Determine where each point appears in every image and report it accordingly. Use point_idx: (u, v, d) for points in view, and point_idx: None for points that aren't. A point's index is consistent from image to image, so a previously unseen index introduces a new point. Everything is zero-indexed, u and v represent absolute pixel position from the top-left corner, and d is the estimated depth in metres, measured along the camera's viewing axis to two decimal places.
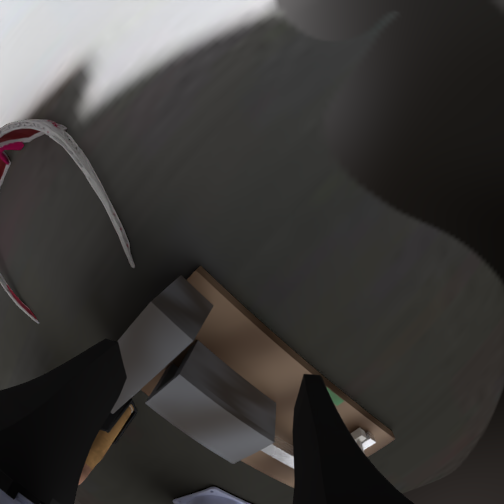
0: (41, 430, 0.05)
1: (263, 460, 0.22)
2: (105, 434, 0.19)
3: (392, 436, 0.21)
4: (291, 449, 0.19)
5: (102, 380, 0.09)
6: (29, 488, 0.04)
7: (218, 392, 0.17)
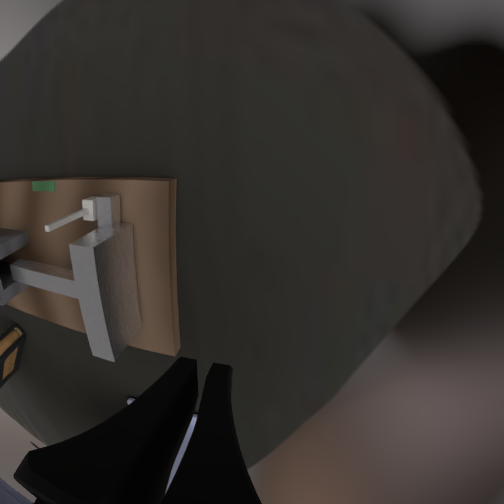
0: (139, 474, 0.05)
1: None
2: None
3: (162, 180, 0.15)
4: (39, 266, 0.16)
5: (184, 403, 0.09)
6: None
7: None
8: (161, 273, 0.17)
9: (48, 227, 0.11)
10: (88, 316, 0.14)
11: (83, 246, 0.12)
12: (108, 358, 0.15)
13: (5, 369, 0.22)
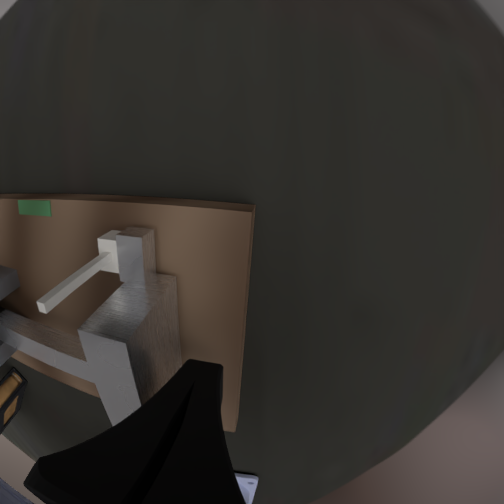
0: (152, 478, 0.05)
1: None
2: None
3: (239, 210, 0.10)
4: (33, 328, 0.10)
5: None
6: None
7: None
8: (228, 345, 0.12)
9: (44, 306, 0.06)
10: None
11: (105, 337, 0.07)
12: None
13: (6, 416, 0.17)
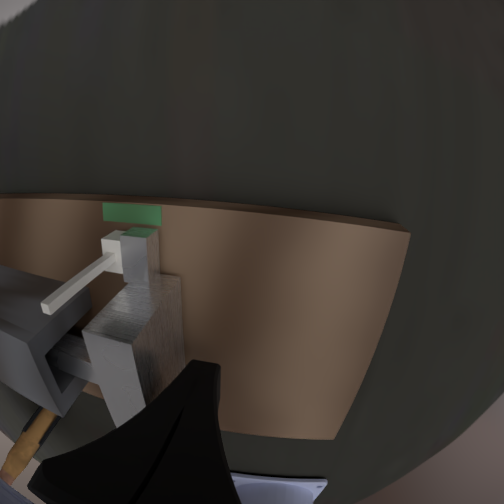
0: None
1: None
2: (23, 434, 0.12)
3: (398, 230, 0.09)
4: None
5: None
6: None
7: None
8: (360, 357, 0.11)
9: (47, 308, 0.06)
10: None
11: (110, 338, 0.07)
12: None
13: None
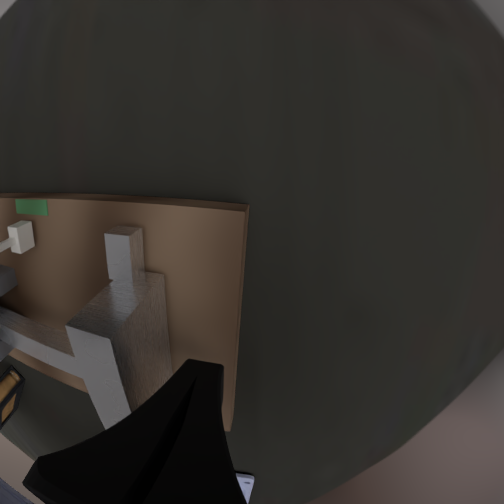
0: (150, 478, 0.05)
1: None
2: None
3: (232, 209, 0.10)
4: (26, 325, 0.10)
5: None
6: None
7: None
8: (222, 344, 0.12)
9: None
10: (108, 417, 0.08)
11: (91, 333, 0.07)
12: None
13: (3, 414, 0.17)
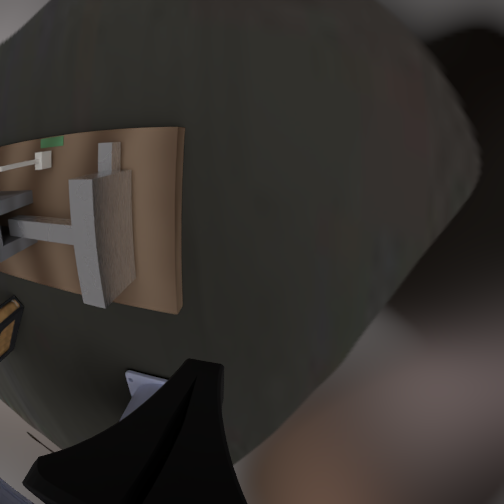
0: (150, 478, 0.05)
1: None
2: None
3: (171, 127, 0.15)
4: (37, 218, 0.15)
5: None
6: None
7: None
8: (166, 220, 0.17)
9: (1, 168, 0.12)
10: (81, 256, 0.13)
11: (82, 179, 0.12)
12: (99, 304, 0.14)
13: (1, 345, 0.22)
